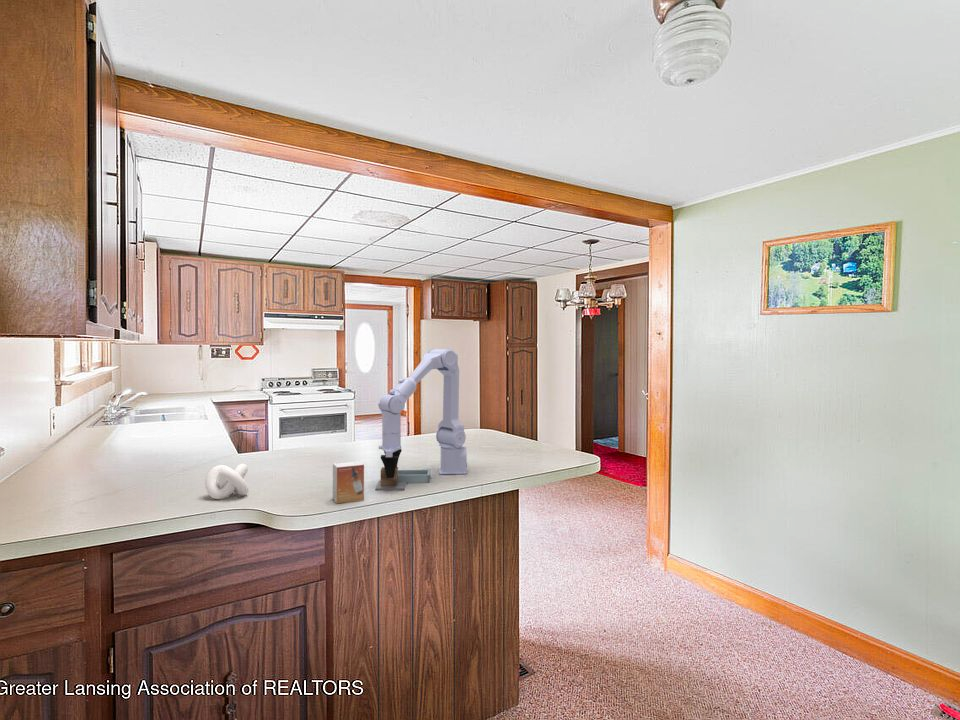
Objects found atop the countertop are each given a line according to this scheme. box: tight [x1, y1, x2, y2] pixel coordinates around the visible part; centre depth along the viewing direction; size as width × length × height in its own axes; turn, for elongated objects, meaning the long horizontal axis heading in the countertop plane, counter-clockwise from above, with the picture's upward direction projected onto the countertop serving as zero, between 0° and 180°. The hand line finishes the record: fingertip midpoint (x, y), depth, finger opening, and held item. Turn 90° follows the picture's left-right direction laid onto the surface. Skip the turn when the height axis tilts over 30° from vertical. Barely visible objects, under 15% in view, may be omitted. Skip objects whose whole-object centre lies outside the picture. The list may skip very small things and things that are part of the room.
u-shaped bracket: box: [398, 469, 431, 484], centre depth 164 cm, size 15×7×2 cm, turn 94°
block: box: [380, 466, 399, 486], centre depth 157 cm, size 5×4×5 cm
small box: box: [332, 460, 365, 504], centre depth 143 cm, size 8×6×10 cm
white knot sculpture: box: [204, 463, 250, 500], centre depth 146 cm, size 11×12×9 cm
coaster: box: [374, 480, 408, 492], centre depth 157 cm, size 9×9×1 cm
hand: (391, 474), depth 157 cm, fingers open, 6 cm apart
